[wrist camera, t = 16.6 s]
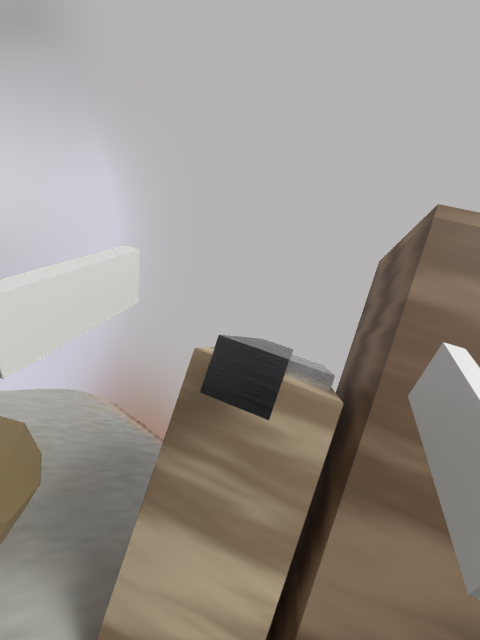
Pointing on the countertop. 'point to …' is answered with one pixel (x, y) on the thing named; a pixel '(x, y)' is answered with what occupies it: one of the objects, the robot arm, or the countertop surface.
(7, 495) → the faceted tan rock
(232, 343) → the turner
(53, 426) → the countertop surface
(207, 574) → the step
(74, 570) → the countertop surface
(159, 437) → the countertop surface
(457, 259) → the wooden block
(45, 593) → the countertop surface
